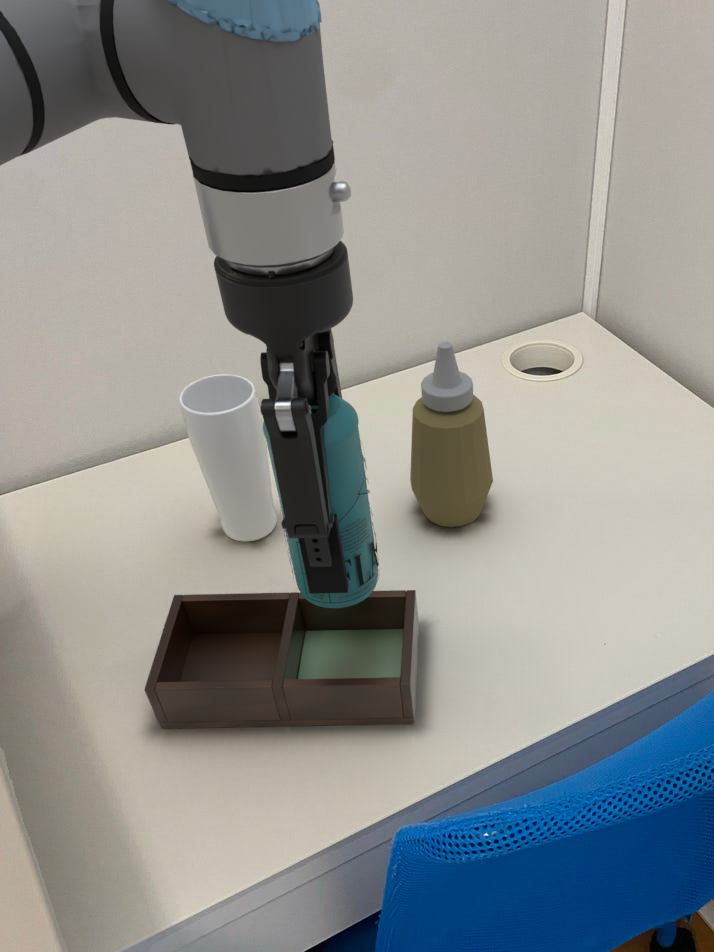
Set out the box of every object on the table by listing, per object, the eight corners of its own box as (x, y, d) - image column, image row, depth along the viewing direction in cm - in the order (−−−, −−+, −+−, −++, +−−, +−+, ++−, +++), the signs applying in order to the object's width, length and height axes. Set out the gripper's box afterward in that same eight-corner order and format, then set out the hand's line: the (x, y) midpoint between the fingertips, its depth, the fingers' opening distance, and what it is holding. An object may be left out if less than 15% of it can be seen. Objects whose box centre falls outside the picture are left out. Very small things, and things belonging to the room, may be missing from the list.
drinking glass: (208, 549, 90) (168, 414, 79) (224, 505, 95) (188, 372, 84) (278, 549, 90) (247, 414, 79) (290, 505, 95) (263, 372, 84)
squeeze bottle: (472, 544, 90) (467, 377, 77) (398, 523, 92) (381, 357, 80) (506, 497, 95) (506, 332, 82) (435, 478, 98) (424, 315, 85)
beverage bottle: (343, 637, 69) (301, 396, 54) (279, 601, 72) (223, 363, 57) (400, 589, 72) (375, 351, 58) (338, 556, 75) (299, 321, 61)
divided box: (160, 728, 75) (143, 689, 72) (187, 634, 82) (173, 594, 79) (414, 723, 75) (410, 684, 71) (419, 629, 82) (415, 589, 79)
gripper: (328, 328, 46) (376, 651, 62) (359, 180, 59) (391, 479, 76) (175, 332, 46) (263, 653, 63) (241, 183, 59) (299, 481, 76)
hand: (333, 557), depth 69 cm, fingers closed on beverage bottle, 6 cm apart
